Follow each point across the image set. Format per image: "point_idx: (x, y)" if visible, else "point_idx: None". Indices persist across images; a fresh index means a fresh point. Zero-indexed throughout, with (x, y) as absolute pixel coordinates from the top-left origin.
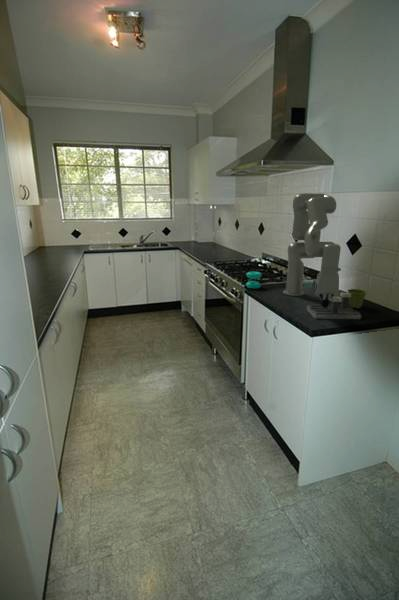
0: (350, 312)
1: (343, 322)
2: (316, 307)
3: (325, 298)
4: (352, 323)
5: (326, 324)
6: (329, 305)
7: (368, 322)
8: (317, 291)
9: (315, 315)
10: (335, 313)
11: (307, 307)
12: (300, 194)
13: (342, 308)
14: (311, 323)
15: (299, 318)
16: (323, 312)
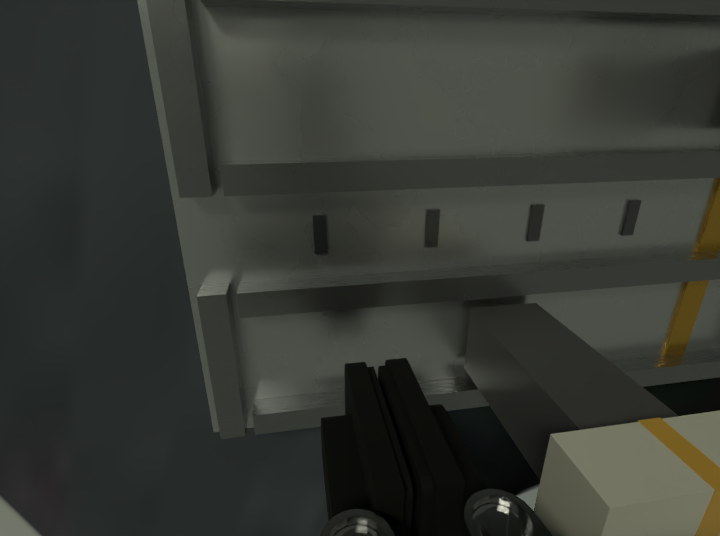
0: (702, 295)
1: (490, 444)
2: (293, 166)
3: (445, 493)
4: None
5: (306, 515)
6: (595, 12)
7: (705, 408)
8: None
9: (216, 425)
10: (483, 405)
11: (144, 8)
12: None
13: (704, 177)
14: (154, 522)
15: (10, 413)
16: (357, 327)
